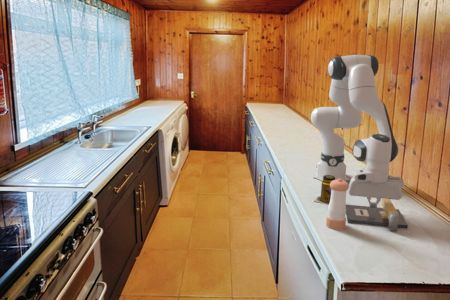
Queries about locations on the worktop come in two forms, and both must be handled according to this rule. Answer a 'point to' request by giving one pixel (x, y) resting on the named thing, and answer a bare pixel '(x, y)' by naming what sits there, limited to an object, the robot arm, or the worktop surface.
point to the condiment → (325, 190)
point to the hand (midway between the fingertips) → (372, 207)
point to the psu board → (371, 216)
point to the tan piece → (390, 214)
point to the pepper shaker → (337, 205)
